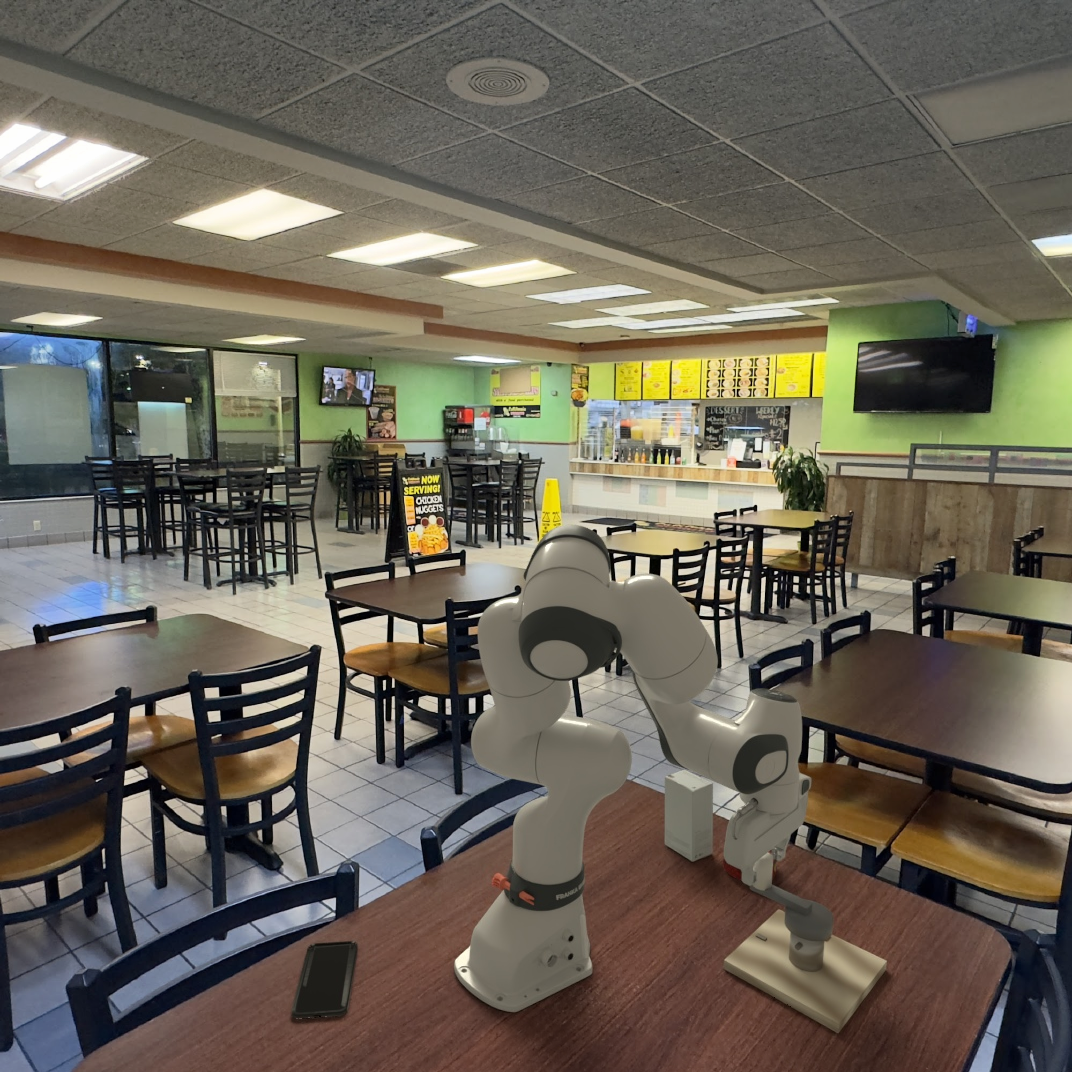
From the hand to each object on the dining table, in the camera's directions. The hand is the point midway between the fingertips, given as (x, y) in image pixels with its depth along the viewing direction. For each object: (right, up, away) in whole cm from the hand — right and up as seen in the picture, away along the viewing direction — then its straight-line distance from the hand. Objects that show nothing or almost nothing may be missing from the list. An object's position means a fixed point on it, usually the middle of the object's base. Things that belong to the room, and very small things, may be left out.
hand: (763, 870), depth 122 cm
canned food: (+4, -10, +24) cm, 26 cm away
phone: (-68, -14, -7) cm, 70 cm away
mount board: (+5, -14, -4) cm, 15 cm away
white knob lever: (+3, -6, -3) cm, 8 cm away
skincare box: (-6, -9, +30) cm, 32 cm away
